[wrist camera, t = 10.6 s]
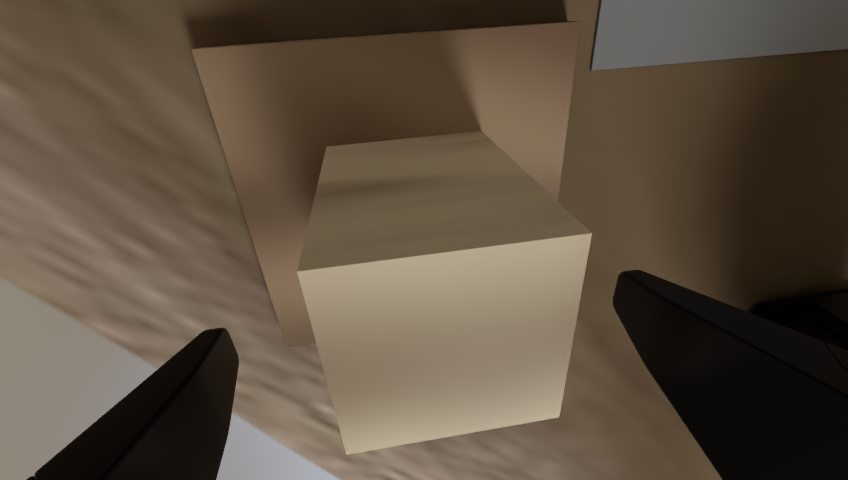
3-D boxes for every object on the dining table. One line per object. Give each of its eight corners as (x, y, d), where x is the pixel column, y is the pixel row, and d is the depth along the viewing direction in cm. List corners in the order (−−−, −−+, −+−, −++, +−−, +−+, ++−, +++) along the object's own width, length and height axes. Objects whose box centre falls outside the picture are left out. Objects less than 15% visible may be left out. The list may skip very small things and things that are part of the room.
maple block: (479, 259, 15) (559, 417, 9) (350, 276, 15) (346, 454, 9) (481, 131, 13) (592, 233, 7) (326, 146, 12) (296, 271, 6)
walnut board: (537, 298, 18) (544, 309, 17) (289, 333, 17) (286, 346, 16) (567, 21, 12) (580, 21, 12) (201, 47, 11) (191, 49, 11)
